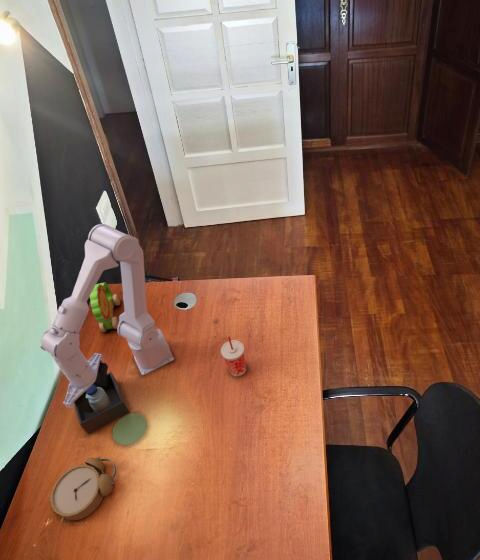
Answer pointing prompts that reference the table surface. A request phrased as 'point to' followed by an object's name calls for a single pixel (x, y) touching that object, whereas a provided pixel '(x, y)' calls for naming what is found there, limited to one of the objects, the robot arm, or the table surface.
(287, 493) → the table surface
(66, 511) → the alarm clock
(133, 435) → the coaster
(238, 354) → the beverage cup
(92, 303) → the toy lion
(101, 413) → the bin
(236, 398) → the table surface
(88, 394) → the bottle
